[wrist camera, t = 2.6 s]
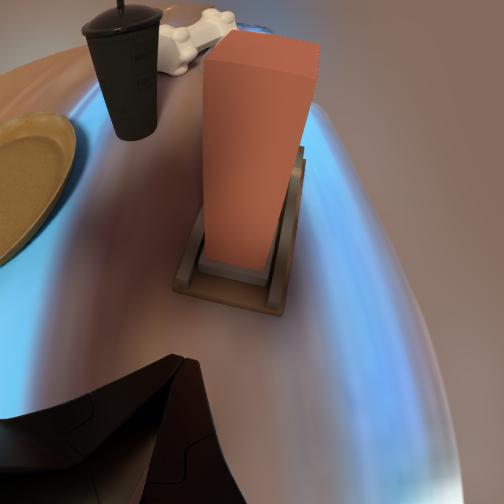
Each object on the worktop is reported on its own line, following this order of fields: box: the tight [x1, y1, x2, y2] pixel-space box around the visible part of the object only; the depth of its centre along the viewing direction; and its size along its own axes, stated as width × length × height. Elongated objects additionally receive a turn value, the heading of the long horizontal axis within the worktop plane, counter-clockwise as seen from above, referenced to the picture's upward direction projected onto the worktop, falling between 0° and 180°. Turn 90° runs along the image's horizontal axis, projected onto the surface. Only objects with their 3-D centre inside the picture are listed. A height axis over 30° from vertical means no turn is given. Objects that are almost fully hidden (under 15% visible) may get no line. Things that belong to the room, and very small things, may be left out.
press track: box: [172, 146, 306, 317], centre depth 25 cm, size 16×8×4 cm, turn 168°
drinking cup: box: [81, 0, 163, 141], centre depth 23 cm, size 8×8×20 cm
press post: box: [198, 29, 320, 287], centre depth 17 cm, size 5×5×15 cm
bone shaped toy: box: [157, 9, 239, 76], centre depth 39 cm, size 15×9×8 cm, turn 151°
